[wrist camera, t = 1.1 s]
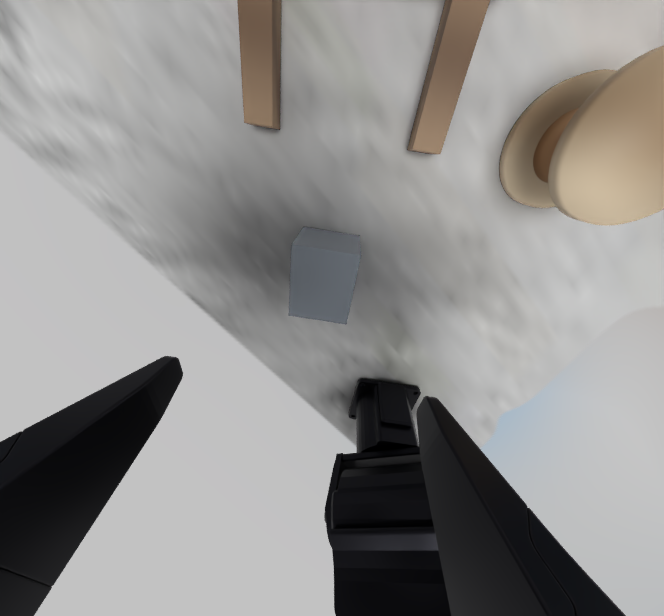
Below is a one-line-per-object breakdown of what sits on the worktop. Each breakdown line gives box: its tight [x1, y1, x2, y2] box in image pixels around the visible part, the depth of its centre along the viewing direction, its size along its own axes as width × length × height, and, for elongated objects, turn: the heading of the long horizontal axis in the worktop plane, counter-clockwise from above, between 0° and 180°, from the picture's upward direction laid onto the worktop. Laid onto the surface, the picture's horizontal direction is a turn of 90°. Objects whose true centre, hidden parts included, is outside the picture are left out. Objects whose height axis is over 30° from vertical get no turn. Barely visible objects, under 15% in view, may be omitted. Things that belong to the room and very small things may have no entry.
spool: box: [499, 46, 664, 225], centre depth 11 cm, size 6×6×5 cm
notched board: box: [238, 0, 490, 154], centre depth 10 cm, size 8×12×3 cm
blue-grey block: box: [289, 227, 361, 324], centre depth 17 cm, size 5×4×4 cm
